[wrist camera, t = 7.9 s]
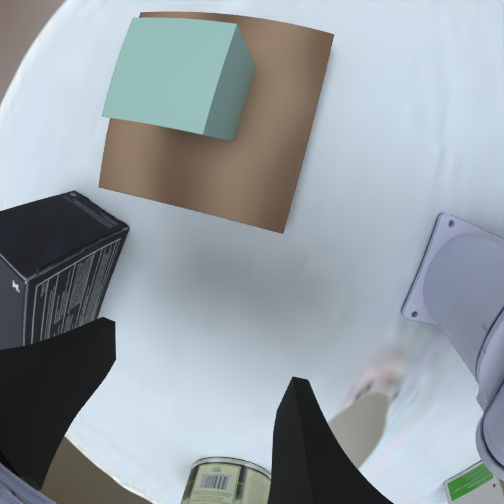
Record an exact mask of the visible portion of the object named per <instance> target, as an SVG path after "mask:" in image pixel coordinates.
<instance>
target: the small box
mask: <svg viewBox="0 0 504 504" xmlns="http://www.w3.org/2000/svg"><path fill="white" fill-rule="evenodd" d="M128 230H129V229H128V227H127V226H126V225H125V224H124V223H123V222H121V221H119V220H116V219H115V218H114V217H113V216H110V215H109V214H107V213H106V212H105V211H103V210H101V209H100V208H99V207H97V206H96V205H94V204H93V203H91V202H90V201H89V200H88V199H87V198H85V197H83V196H82V195H80V194H78V193H77V192H75V191H71V192H68V193H63V194H60V195H56V196H52V197H48V198H44V199H41V200H37V201H34V202H30V203H27V204H23V205H20V206H16V207H13V208H9V209H6V210H3V211H0V350H2V349H8V348H15V347H20V346H24V345H29V344H32V343H36V342H39V341H42V340H45V339H48V338H51V337H54V336H57V335H60V334H62V333H65V332H67V331H70V330H72V329H74V328H77V327H79V326H82V325H84V324H86V323H89V322H91V321H94V320H96V319H97V316H98V314H99V310H100V307H101V304H102V301H103V298H104V295H105V292H106V289H107V286H108V283H109V280H110V278H111V275H112V272H113V269H114V266H115V264H116V261H117V258H118V256H119V253H120V250H121V248H122V245H123V242H124V240H125V237H126V234H127V232H128Z"/></svg>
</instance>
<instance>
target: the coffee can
mask: <svg viewBox="0 0 504 504" xmlns="http://www.w3.org/2000/svg"><path fill="white" fill-rule="evenodd" d="M270 484H271V474H270V473H269V472H268V471H266V470H265V469H264V468H262V467H259V466H257V465H255V464H253V463H250V462H246V461H243V460H239V459H233V458H222V457H213V458H206V459H201V460H199V461H197V462H195V463H194V464H193V465H192V468H191V473H190V476H189V479H188V482H187V485H186V489H185V491H184V494H183V498H182V501H181V504H267V502H268V497H269V491H270Z"/></svg>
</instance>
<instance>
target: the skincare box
mask: <svg viewBox="0 0 504 504" xmlns="http://www.w3.org/2000/svg"><path fill="white" fill-rule="evenodd" d="M444 487H445V490H446V494H447V498H448V502H449V504H504V494H503V491H502V488H501V485H500V482H499V479H498V477H496V476H495V475H494V474H493V473H491V472H490V471H489V470H488V468H487V467H486V466H485V465H484V463H483V461H480V462H479V463H477V464H475V465H474V466H472V467H470V468H469V469H467V470H465V471H463V472H461V473H460V474H458V475H456V476H454V477H452V478H450V479H448V480H446V481H444Z"/></svg>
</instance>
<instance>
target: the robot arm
mask: <svg viewBox="0 0 504 504" xmlns="http://www.w3.org/2000/svg"><path fill="white" fill-rule="evenodd" d="M450 220H452V224H451V225H450V226H449V225H448V222H449V221H450ZM414 311H416V313H415V314H414V315H412V313H413V312H414ZM402 315H403V317H404V318H406V319H410V320H414V321H418V322H423V323H427V324H431V325H436V326H439V327H440V328H441V329H442V331H443V332H444V333H445V335H446V336H447V338H448V339H449V340H450V342H451V343H452V345H453V346H454V348H455V349H456V351H457V352H458V353H459V355H460V356H461V358H462V359H463V361H464V362H465V364H466V365H467V367H468V368H469V370H470V372H471V373H472V375H473V376H474V378H475V379H476V381H477V382H478V384H479V393H478V396H477V398H476V399H477V401H478V403H479V405H480V406H481V408H482V410H483V412H484V413H483V415H482V417H481V419H480V420H479V423H478V426H477V429H476V446H477V451H478V453H479V456H480V458H481V460H482V461H483V463H484V465H485V466H486V467H487V468H488V470H489V471H490V472H491V473H493V474H494V475H495V476H496V477H498V478H499V479H501V480H503V481H504V240H503V239H501V238H499V237H497V236H495V235H493V234H491V233H489V232H487V231H485V230H482V229H480V228H478V227H476V226H474V225H472V224H469V223H467V222H465V221H463V220H460V219H458V218H456V217H453V216H451V215H449V214H446V213H442V214H441V215H440V216H439V217H438V220H437V223H436V226H435V229H434V232H433V235H432V238H431V241H430V243H429V246H428V249H427V252H426V254H425V257H424V259H423V262H422V265H421V267H420V270H419V272H418V275H417V277H416V279H415V282H414V284H413V286H412V289H411V291H410V293H409V296H408V298H407V300H406V302H405V305H404V307H403V309H402ZM115 360H116V343H115V322H114V321H112V320H109V319H107V318H104V317H101V318H99V319H96V320H94V321H91V322H89V323H86V324H84V325H82V326H79V327H77V328H74V329H72V330H70V331H67V332H65V333H62V334H60V335H57V336H54V337H51V338H48V339H45V340H42V341H39V342H36V343H32V344H29V345H24V346H20V347H15V348H8V349H2V350H0V504H23V503H22V502H21V501H19V500H18V499H17V497H16V496H18V497H19V498H20V499H22V500H23V501H25V502H26V503H27V504H57V503H55V502H54V501H52V500H50V499H49V498H47V497H46V496H44V495H43V494H41V493H40V492H38V491H37V490H40V489H42V486H43V483H44V480H45V477H46V474H47V472H48V469H49V466H50V464H51V462H52V460H53V458H54V455H55V453H56V451H57V449H58V447H59V445H60V443H61V441H62V439H63V437H64V435H65V433H66V432H67V430H68V428H69V426H70V425H71V423H72V421H73V419H74V418H75V417H76V415H77V414H78V412H79V411H80V410H81V408H82V407H83V406H84V405H85V403H86V402H87V401H88V399H89V398H90V397H91V396H92V394H93V393H94V392H95V391H96V389H97V388H98V387H99V385H100V384H101V383H102V381H103V380H104V379H105V377H106V376H107V374H108V372H109V371H110V369H111V367H112V365H113V364H114V362H115ZM267 504H393V503H392V502H391V501H390V500H388V499H387V498H386V497H384V496H383V495H382V494H381V493H380V492H379V491H378V490H377V489H376V488H375V487H373V486H372V485H371V484H370V483H369V482H368V481H367V479H366V478H365V477H364V476H363V475H362V474H361V473H360V472H359V470H358V469H357V468H356V467H355V466H354V465H353V463H352V462H351V461H350V459H349V458H348V457H347V455H346V454H345V452H344V451H343V449H342V448H341V446H340V445H339V443H338V441H337V440H336V438H335V436H334V435H333V433H332V431H331V429H330V428H329V425H328V423H327V421H326V419H325V417H324V415H323V413H322V411H321V409H320V407H319V404H318V402H317V400H316V398H315V395H314V393H313V390H312V388H311V385H310V383H309V381H308V380H307V379H302V378H297V377H292V379H291V381H290V383H289V386H288V388H287V390H286V392H285V394H284V396H283V399H282V401H281V403H280V405H279V407H278V409H277V413H276V419H275V425H274V431H273V449H272V471H271V484H270V491H269V497H268V502H267Z"/></svg>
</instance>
